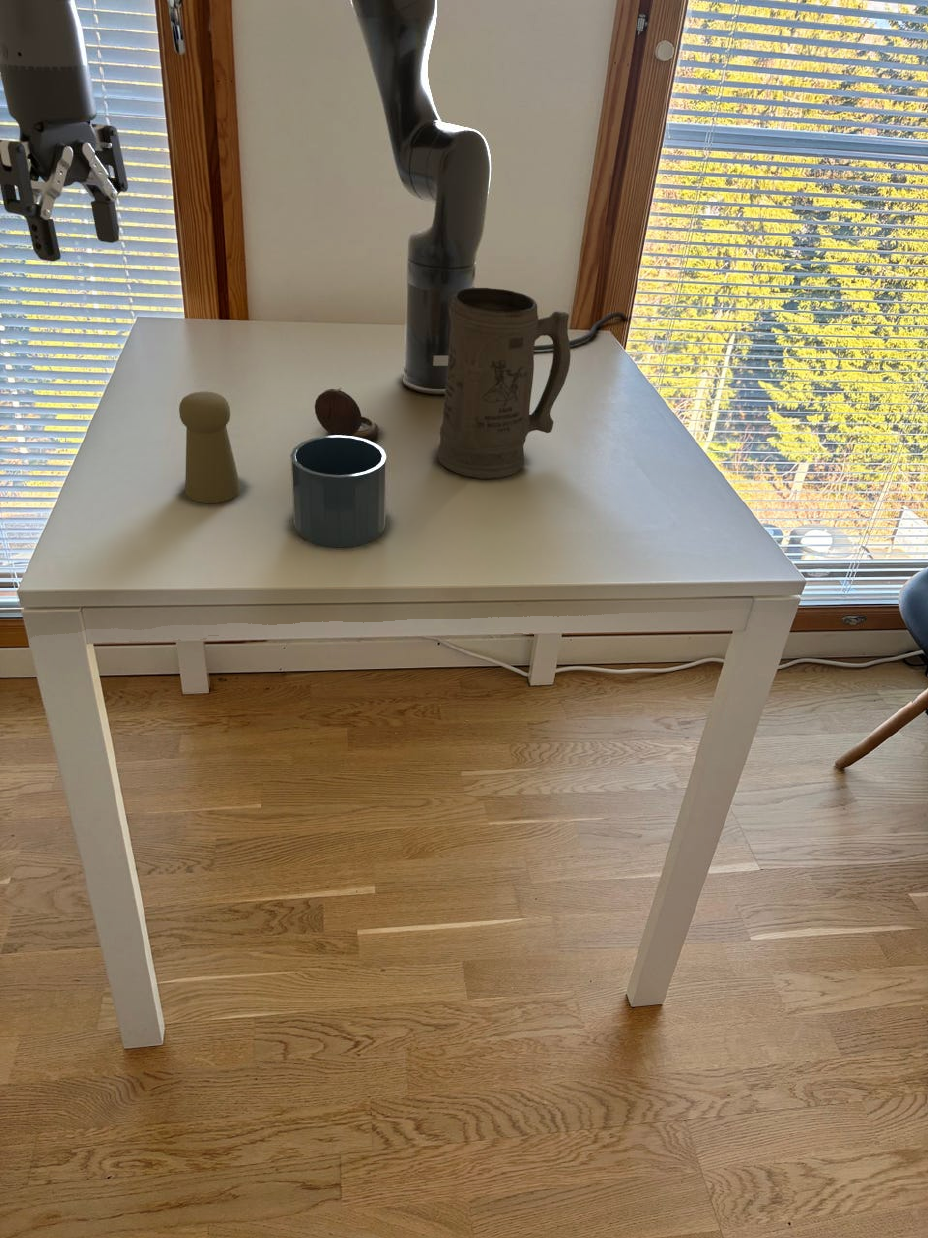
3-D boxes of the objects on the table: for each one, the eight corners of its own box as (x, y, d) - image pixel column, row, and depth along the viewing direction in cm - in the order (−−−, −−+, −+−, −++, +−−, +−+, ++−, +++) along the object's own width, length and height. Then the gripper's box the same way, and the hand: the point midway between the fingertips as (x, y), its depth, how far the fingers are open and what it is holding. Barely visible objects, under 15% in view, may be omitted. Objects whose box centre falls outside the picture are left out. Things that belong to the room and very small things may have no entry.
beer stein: (456, 486, 105) (480, 312, 94) (417, 448, 113) (435, 283, 101) (565, 474, 112) (600, 311, 101) (521, 439, 119) (549, 283, 108)
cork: (227, 506, 98) (218, 410, 91) (175, 498, 98) (162, 402, 92) (249, 482, 103) (242, 389, 96) (199, 474, 103) (188, 381, 97)
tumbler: (358, 495, 102) (358, 429, 97) (401, 533, 95) (403, 465, 91) (279, 514, 97) (275, 445, 92) (319, 556, 91) (317, 484, 86)
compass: (386, 430, 117) (387, 375, 112) (356, 453, 111) (356, 396, 106) (333, 416, 119) (332, 362, 115) (300, 438, 113) (298, 382, 109)
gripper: (17, 66, 74) (61, 272, 83) (129, 57, 85) (156, 240, 94) (-54, 59, 76) (-4, 261, 85) (64, 51, 87) (97, 230, 96)
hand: (80, 249), depth 90 cm, fingers open, 8 cm apart
